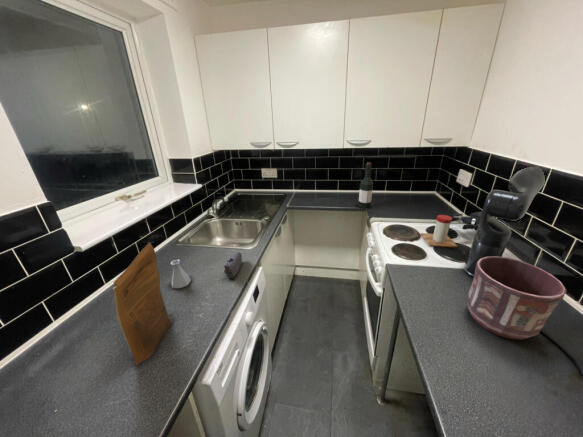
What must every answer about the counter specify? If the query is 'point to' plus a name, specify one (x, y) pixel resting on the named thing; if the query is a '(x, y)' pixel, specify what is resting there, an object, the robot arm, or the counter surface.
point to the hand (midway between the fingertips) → (455, 223)
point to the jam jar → (441, 231)
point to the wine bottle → (366, 189)
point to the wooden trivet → (434, 243)
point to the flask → (179, 275)
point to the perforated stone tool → (233, 265)
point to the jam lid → (444, 218)
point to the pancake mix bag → (141, 305)
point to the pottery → (512, 297)
